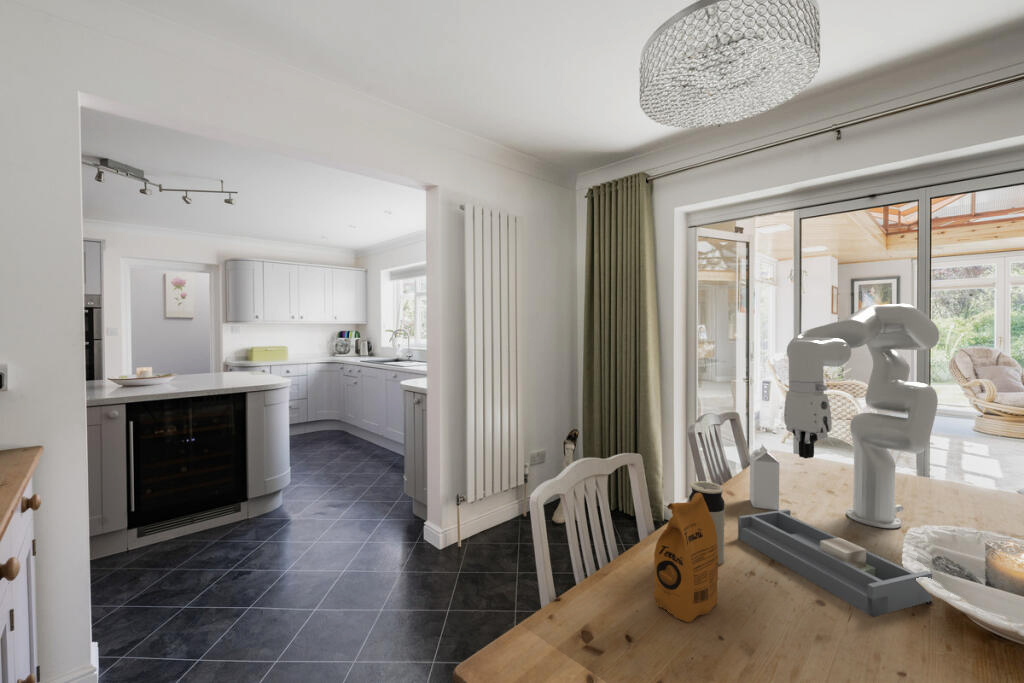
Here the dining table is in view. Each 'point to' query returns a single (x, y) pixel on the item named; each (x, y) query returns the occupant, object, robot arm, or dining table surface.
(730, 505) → the dining table surface
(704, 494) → the travel mug
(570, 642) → the dining table surface
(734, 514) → the dining table surface
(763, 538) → the box
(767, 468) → the milk carton
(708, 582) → the coffee package
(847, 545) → the block
